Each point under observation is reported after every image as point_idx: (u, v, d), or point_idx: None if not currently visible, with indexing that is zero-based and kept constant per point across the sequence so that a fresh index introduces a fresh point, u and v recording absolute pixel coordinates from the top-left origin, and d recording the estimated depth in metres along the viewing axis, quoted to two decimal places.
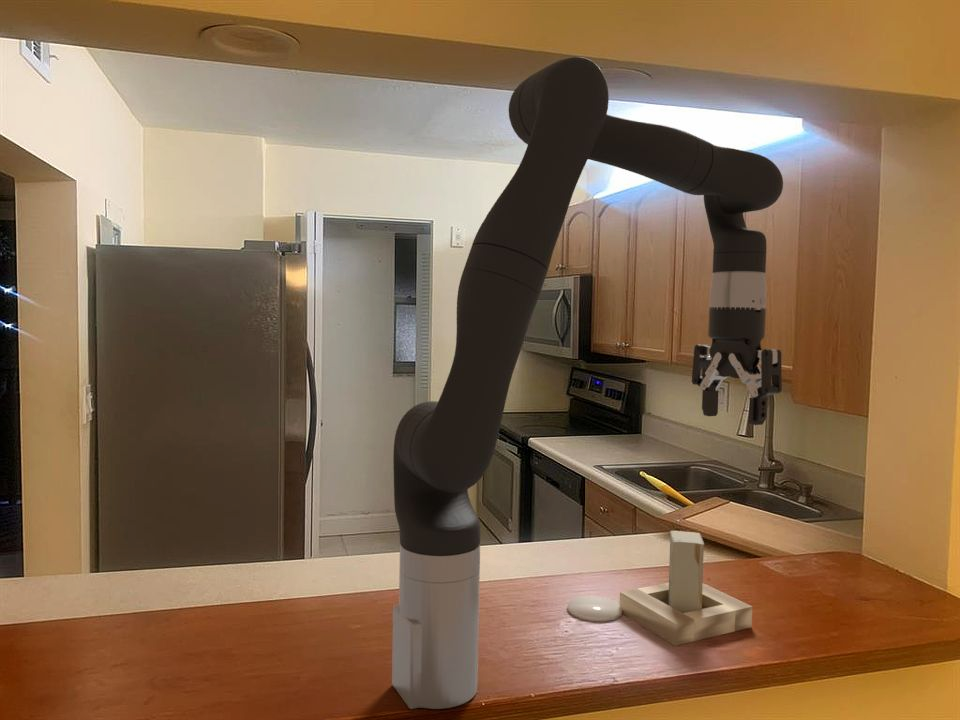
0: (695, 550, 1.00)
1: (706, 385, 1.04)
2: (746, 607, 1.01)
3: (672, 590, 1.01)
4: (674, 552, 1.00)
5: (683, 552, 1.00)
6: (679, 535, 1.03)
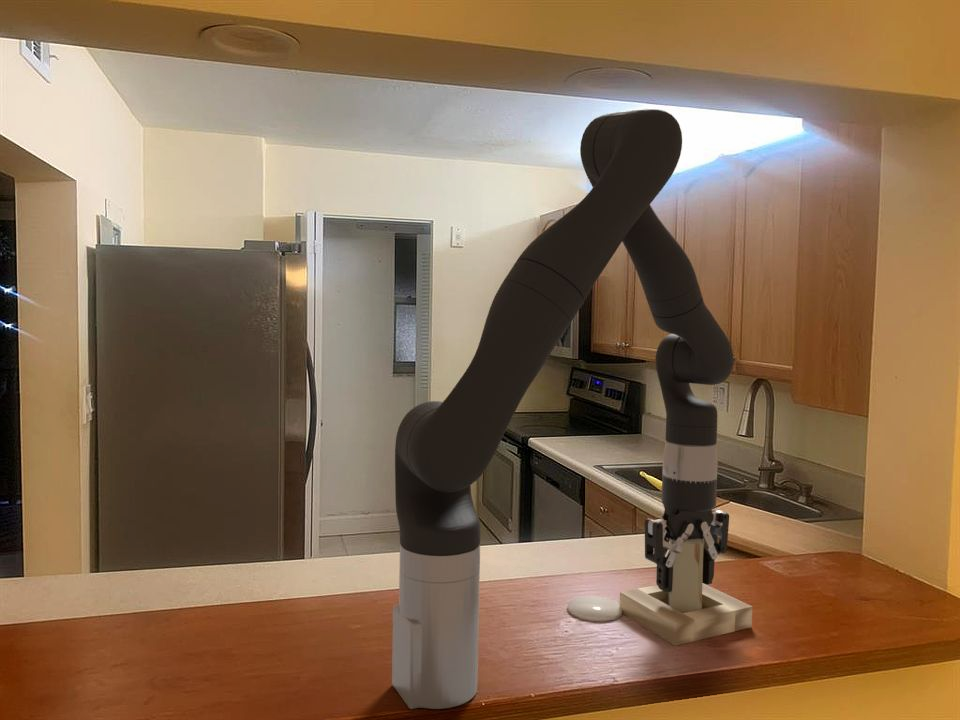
0: (695, 550, 1.00)
1: (673, 561, 1.00)
2: (746, 607, 1.01)
3: (672, 590, 1.01)
4: None
5: (683, 552, 1.00)
6: None
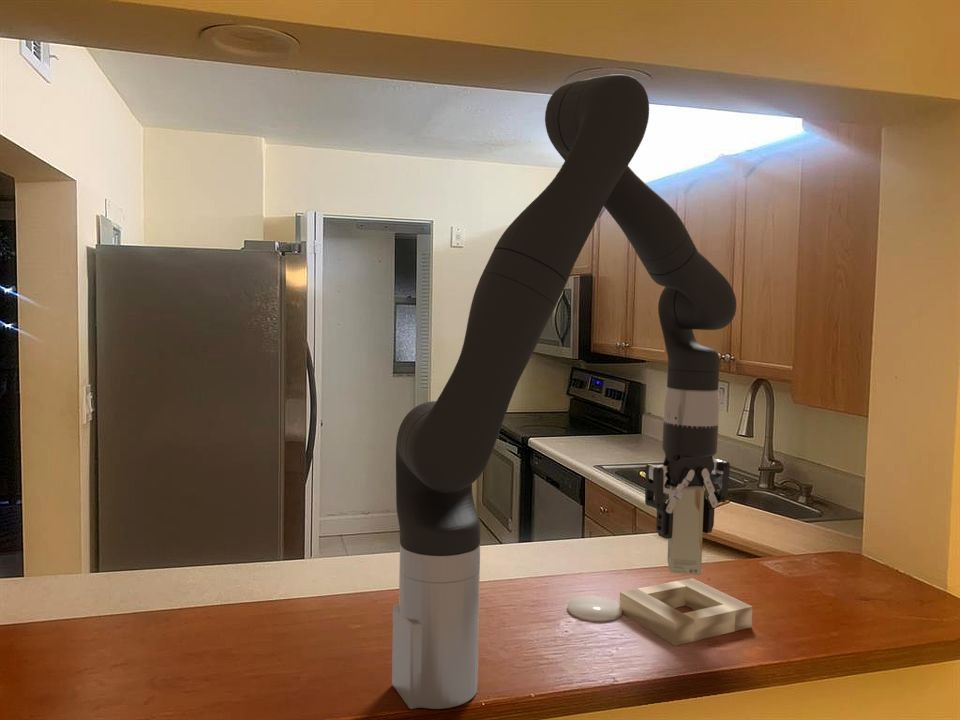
0: (695, 496, 0.99)
1: (673, 507, 1.00)
2: (746, 607, 1.01)
3: None
4: None
5: (683, 498, 1.00)
6: None
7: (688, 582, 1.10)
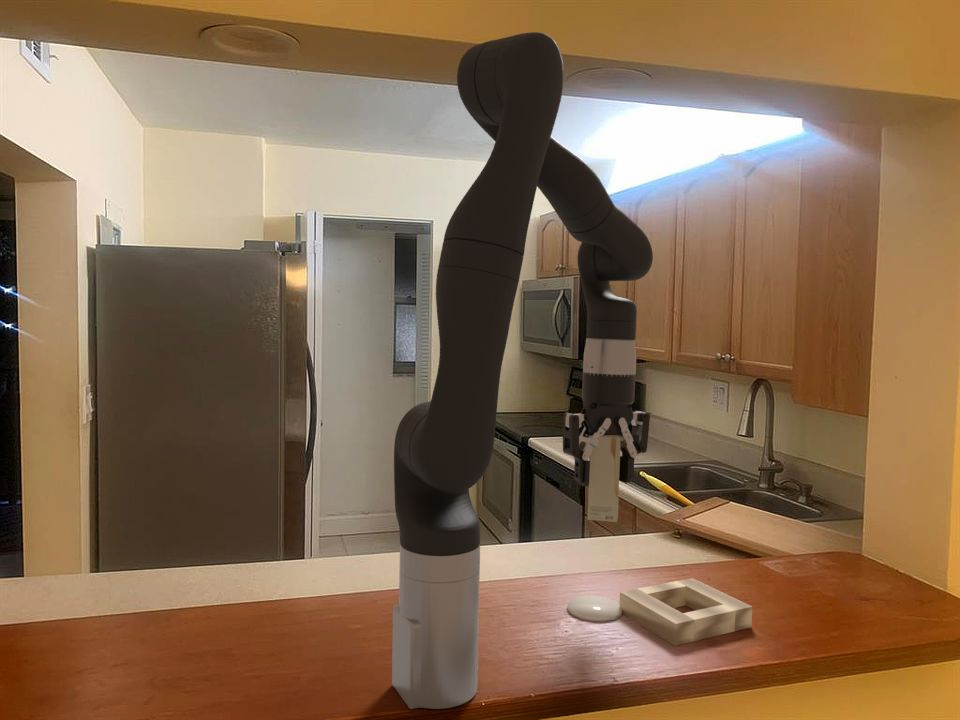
0: (611, 444, 1.01)
1: (589, 455, 1.01)
2: (746, 607, 1.01)
3: (589, 484, 1.02)
4: None
5: (600, 446, 1.01)
6: None
7: (688, 582, 1.10)
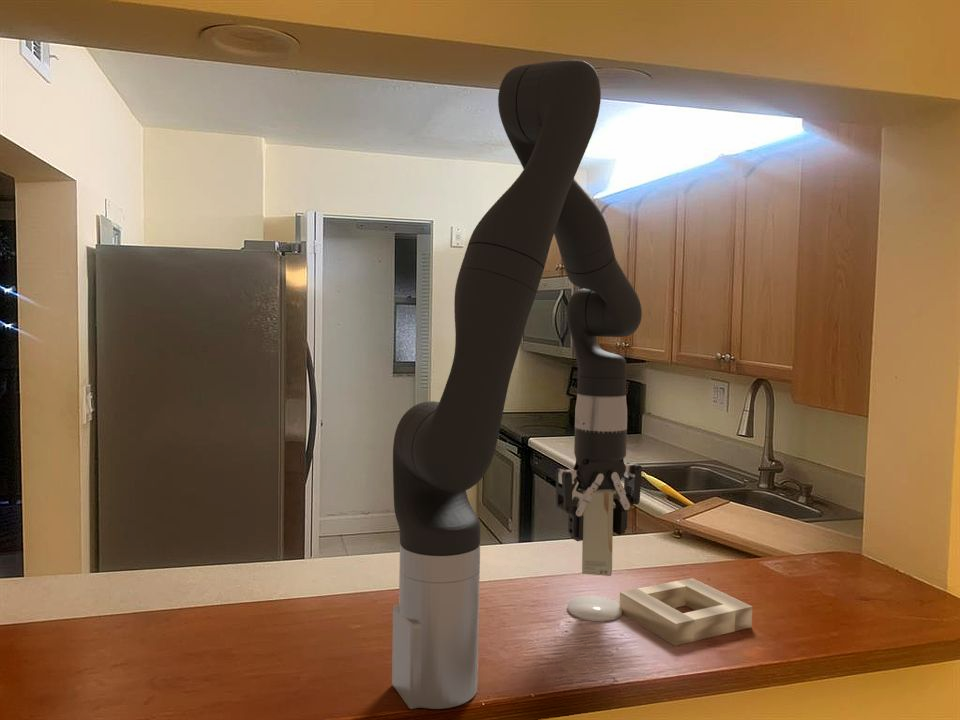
0: (604, 499, 1.02)
1: (583, 510, 1.02)
2: (746, 607, 1.01)
3: (583, 539, 1.03)
4: None
5: (592, 501, 1.02)
6: None
7: (688, 582, 1.10)
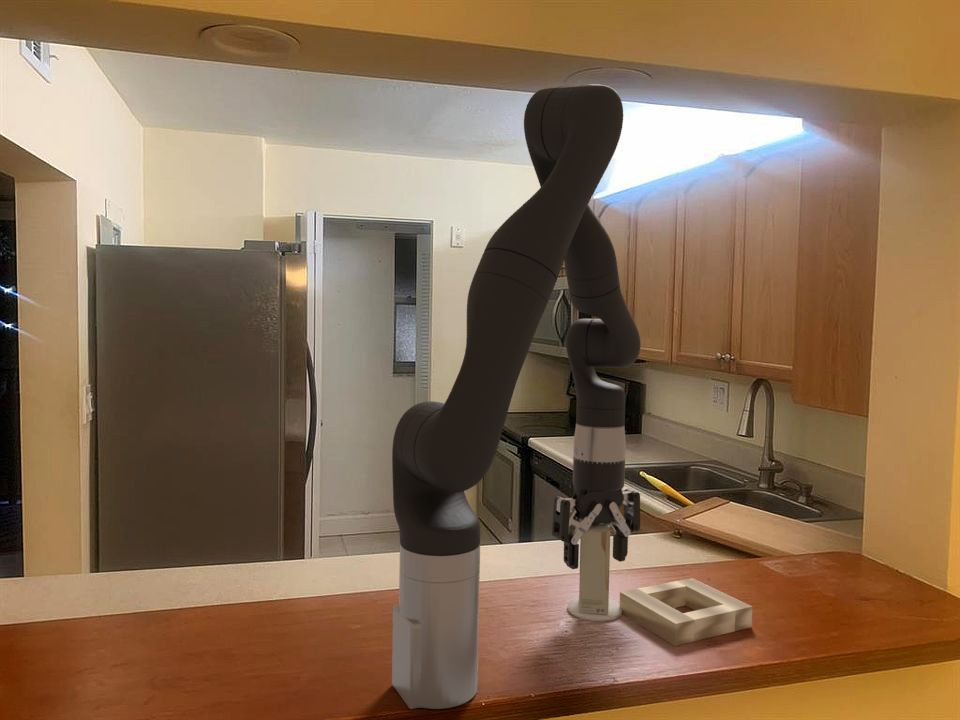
0: (601, 538, 1.02)
1: (578, 538, 1.02)
2: (746, 607, 1.01)
3: (580, 577, 1.03)
4: (582, 540, 1.03)
5: (590, 540, 1.03)
6: None
7: (688, 582, 1.10)
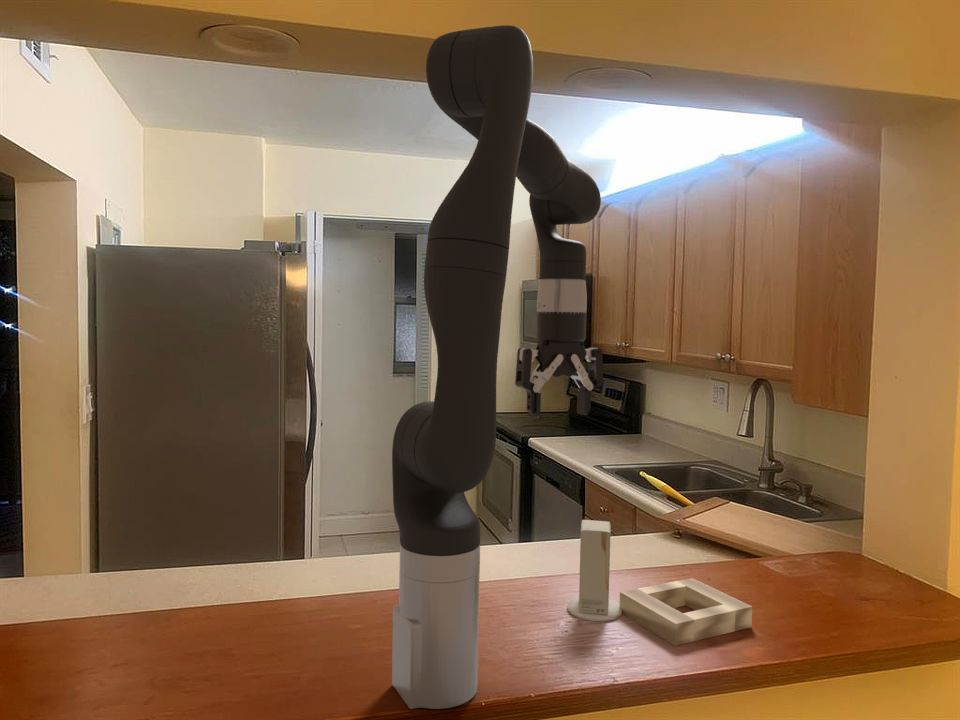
0: (602, 538, 1.02)
1: (540, 387, 1.07)
2: (746, 607, 1.01)
3: (580, 577, 1.03)
4: (582, 540, 1.03)
5: (590, 540, 1.02)
6: (589, 524, 1.06)
7: (688, 582, 1.10)
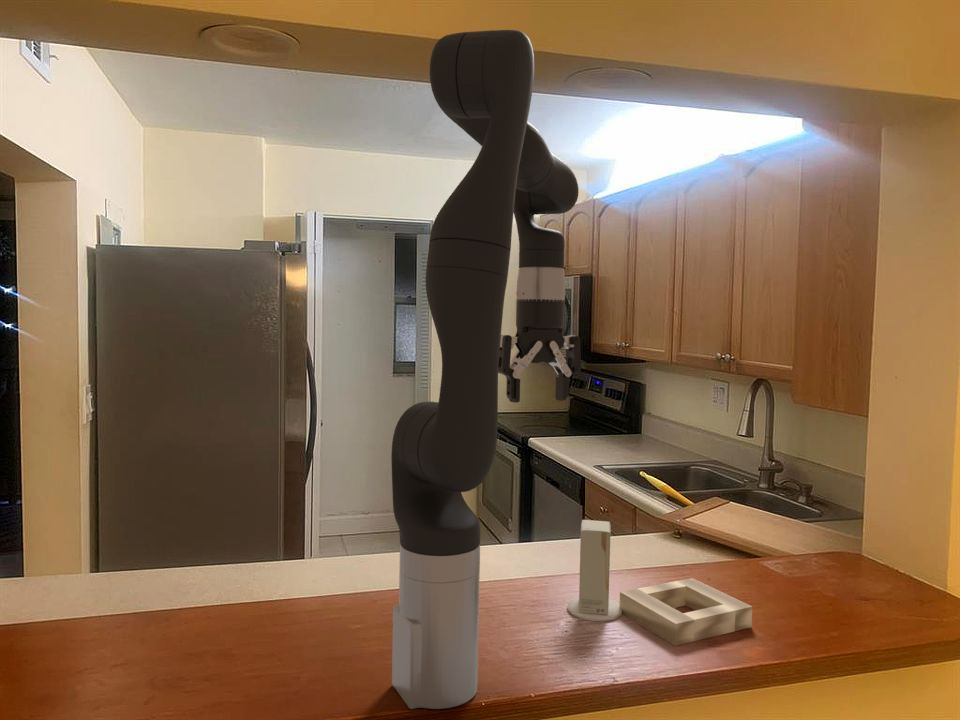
0: (602, 538, 1.02)
1: (520, 373, 1.09)
2: (746, 607, 1.01)
3: (580, 577, 1.03)
4: (582, 540, 1.03)
5: (590, 540, 1.02)
6: (589, 524, 1.06)
7: (688, 582, 1.10)
